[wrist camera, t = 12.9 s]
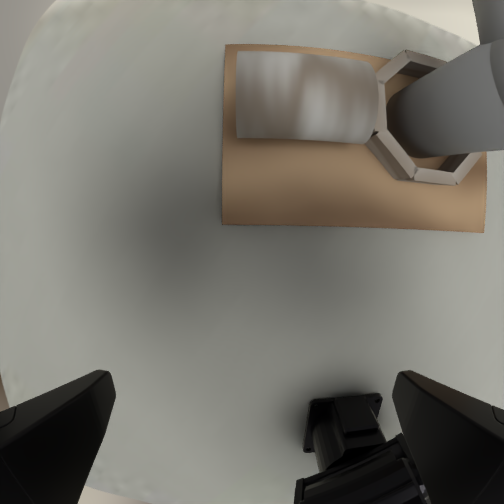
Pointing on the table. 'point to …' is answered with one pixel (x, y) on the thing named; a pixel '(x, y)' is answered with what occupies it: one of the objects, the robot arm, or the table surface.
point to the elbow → (456, 98)
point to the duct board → (334, 145)
